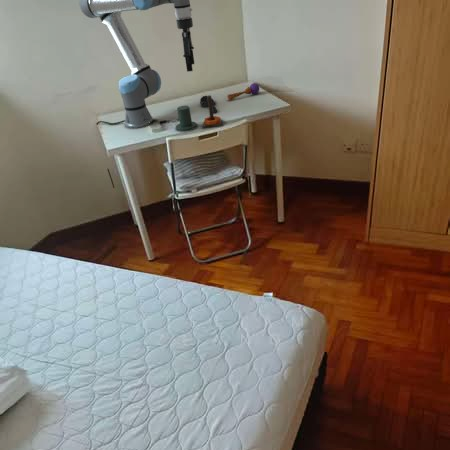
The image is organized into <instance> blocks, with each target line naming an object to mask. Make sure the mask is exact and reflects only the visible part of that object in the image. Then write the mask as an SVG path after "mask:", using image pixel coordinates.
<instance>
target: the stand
mask: <svg viewBox="0 0 450 450" xmlns="http://www.w3.org/2000/svg"><path fill="white" fill-rule="evenodd" d="M176 110H177V117H178V121H179V123H177V124H176V126H175V130H176V131H178V132H189V131H191V130H195V129H196V128H197V127H198V123H197V122H196V121H192V114H191V109H190V106H189V105H180V106H177V108H176Z"/></svg>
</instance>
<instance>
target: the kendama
mask: <svg viewBox="0 0 450 450" xmlns="http://www.w3.org/2000/svg"><path fill="white" fill-rule="evenodd" d="M259 92H260V85H259V84H258V83H256V82H253V83H251V84H250V85H249V86H247V88H245V90H244V91H238V92H233V93H230V94H227V95H226V96H227V100H228V101H229V102H230V101H231V100H234V99H236V98H238V97H240V96H242V95H244V94H245V95H246V94H247V95H257V94H258V93H259Z"/></svg>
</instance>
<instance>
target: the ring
mask: <svg viewBox="0 0 450 450" xmlns="http://www.w3.org/2000/svg"><path fill="white" fill-rule="evenodd" d="M220 118H221V117H220V116H217V115H214V120H212V121H210V116H207V117H205V118H204V120H203V123H204V122H205V124H208V125H212V124H217V123H219V122H220Z"/></svg>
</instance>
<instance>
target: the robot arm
mask: <svg viewBox="0 0 450 450" xmlns="http://www.w3.org/2000/svg"><path fill="white" fill-rule="evenodd" d="M78 4H79V9H80V10H81V12H82V14H83V15H84V16H86V17H88V18H89V19H98V18H99V19H100V21H101V23H102V24H105V25H106V26H107V28H108V30H109V32H110V34H111V35H112V37H113V39H114V41H115V43H116V45H117V47H118V48H119V51H120V53H121V54H122V57H123V58H124V60H125V62H126V63H127V65H128V68H129V69H130V71H131V72H130V73H131V74H128V75H126V76H124V77H122V78H121V79H120V80H119V81H118V88H119V92H120V96H121V99H122V103H123V107H124V110H125V113H124V114H125V115H124V118H125V119H124V120H120V121H117V122H109V121H104V120H99V121H97V122H96V125H99V124H100V123H104V124H108V125H110V126H111V125H118V124H121V123H122V124H123V123H125V127H126V128H128V129H137V128H143V127H147V126H149V125H151V124H152V123H153V122H154V120H153V116H152V114H151V113H150V111H149V109H148V107H147V103H146V100H145V99H148V98H150V97H151V96H154V95H156V94H158V92H159V91H160V90H161V88H162V87H161V86H162V79H161V76H160V74H159V72H158V71H157V70H155V69H152V67H151V66H150V64H148V63H146V62H145V60H144V58H143V57H142V54H141V53H140V51H139V49H138V46H137V45H136V43H135V41H134V39H133V36H131V33H130V31H129V29H128V27H127V25H126V23H125V22H124V20H123V18H122V13H123V12H128V11H147V10H149V9H152V8H155V7H159V6H163V5H164V4H173V7H174V14H175V18H176V27H177V29H178V30H182V31H181V37H182V45H183V58H184V59H185V60H184V61H185V65H186V72H193V71H194V70H193V65H195V58H194V48H195V47H194V46H193V41H192V34H191V31H190V29H191V28H193V27H194V23H193V22H194V21H193V18H192V11H193V8H191V2H190V0H78ZM149 122H150V123H149ZM107 173H108V175H109V179H110V181H111V185H112V188H113V189H115V185H114V182H113V178H112V175H111V172H110V169H109V168H107Z"/></svg>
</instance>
